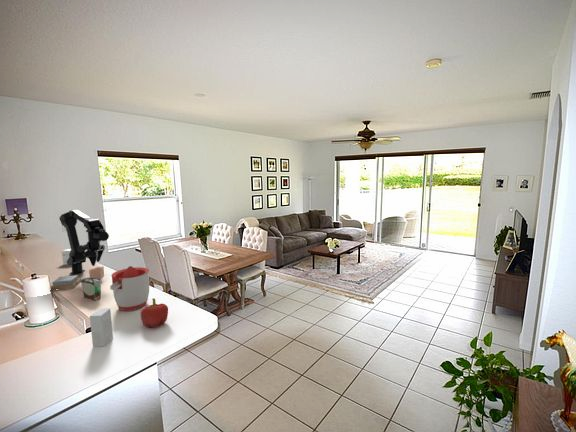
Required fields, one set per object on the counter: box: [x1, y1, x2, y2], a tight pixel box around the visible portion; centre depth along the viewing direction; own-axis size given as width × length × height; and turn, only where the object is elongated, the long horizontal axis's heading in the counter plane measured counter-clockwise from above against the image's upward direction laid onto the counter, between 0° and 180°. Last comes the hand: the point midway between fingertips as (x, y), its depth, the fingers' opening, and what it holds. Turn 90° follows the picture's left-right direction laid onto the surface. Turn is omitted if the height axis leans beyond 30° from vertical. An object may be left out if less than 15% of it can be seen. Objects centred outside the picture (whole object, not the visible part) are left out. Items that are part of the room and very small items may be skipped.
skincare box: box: [89, 307, 114, 347], centre depth 103 cm, size 6×4×12 cm
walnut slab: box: [50, 278, 82, 291], centre depth 159 cm, size 11×11×2 cm
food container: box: [80, 276, 103, 302], centre depth 143 cm, size 12×6×10 cm, turn 65°
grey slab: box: [52, 274, 79, 286], centre depth 159 cm, size 9×9×2 cm
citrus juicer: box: [110, 265, 150, 312], centre depth 132 cm, size 16×17×20 cm
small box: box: [61, 248, 71, 266], centre depth 201 cm, size 8×6×10 cm
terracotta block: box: [88, 265, 105, 279], centre depth 174 cm, size 6×6×6 cm
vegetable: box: [140, 298, 169, 328], centre depth 116 cm, size 11×10×10 cm
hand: (95, 263), depth 173 cm, fingers open, 9 cm apart
